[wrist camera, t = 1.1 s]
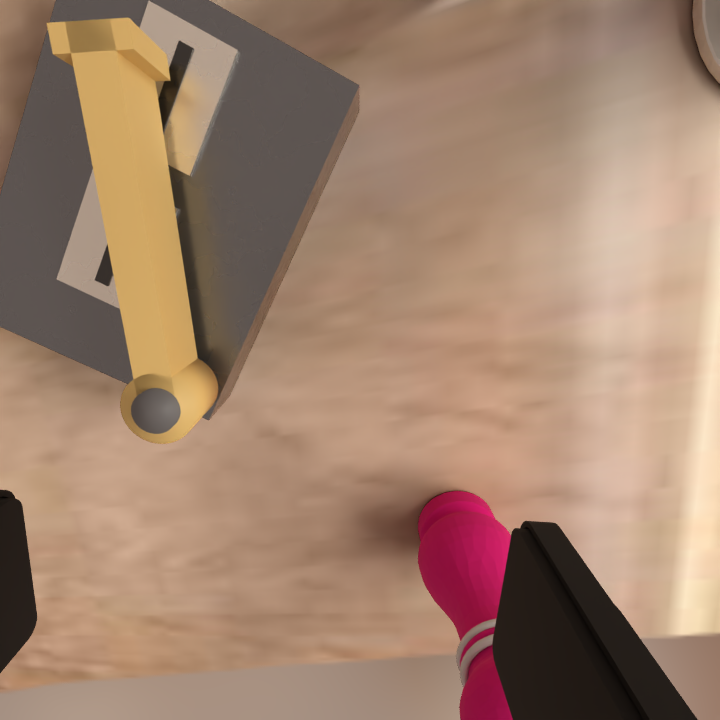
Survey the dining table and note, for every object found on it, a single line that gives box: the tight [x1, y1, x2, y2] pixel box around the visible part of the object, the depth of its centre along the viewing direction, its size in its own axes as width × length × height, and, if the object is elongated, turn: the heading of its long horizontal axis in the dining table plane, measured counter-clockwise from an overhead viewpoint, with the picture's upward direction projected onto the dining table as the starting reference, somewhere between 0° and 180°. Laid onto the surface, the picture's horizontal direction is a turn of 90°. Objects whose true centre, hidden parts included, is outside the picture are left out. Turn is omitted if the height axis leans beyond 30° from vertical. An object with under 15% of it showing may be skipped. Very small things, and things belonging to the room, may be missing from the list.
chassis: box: [0, 0, 359, 420], centre depth 28 cm, size 22×16×5 cm
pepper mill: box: [418, 491, 513, 720], centre depth 28 cm, size 7×7×20 cm
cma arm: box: [47, 18, 218, 444], centre depth 24 cm, size 20×4×5 cm, turn 3°
